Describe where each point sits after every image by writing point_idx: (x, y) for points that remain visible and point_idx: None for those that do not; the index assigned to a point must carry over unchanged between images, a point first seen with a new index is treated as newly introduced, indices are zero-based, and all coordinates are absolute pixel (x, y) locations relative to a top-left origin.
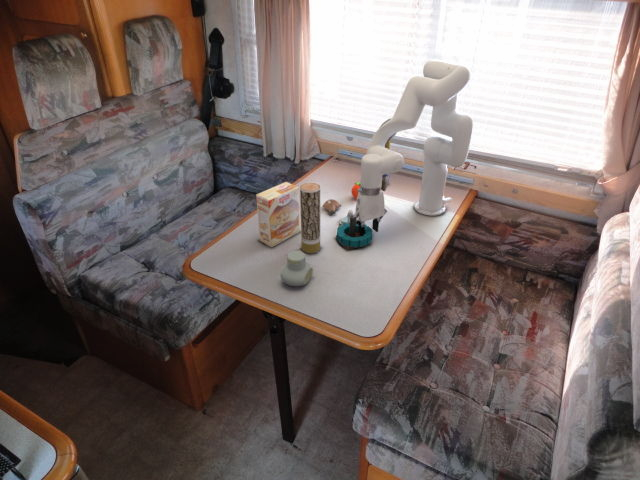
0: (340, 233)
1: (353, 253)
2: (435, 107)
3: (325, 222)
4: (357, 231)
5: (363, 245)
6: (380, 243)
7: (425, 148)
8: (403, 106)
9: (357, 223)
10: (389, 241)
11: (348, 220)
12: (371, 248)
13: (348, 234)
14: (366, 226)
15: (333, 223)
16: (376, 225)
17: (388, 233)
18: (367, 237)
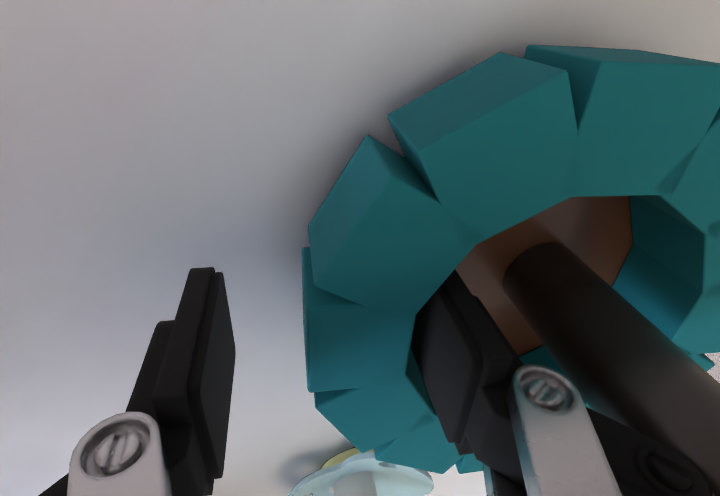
0: (708, 344)
1: (699, 20)
2: None
3: (481, 487)
4: (411, 352)
5: (586, 49)
6: (240, 61)
7: None
8: None
9: (672, 452)
10: (62, 41)
11: (373, 491)
12: (437, 3)
13: (515, 336)
14: (341, 385)
15: (447, 474)
16: (206, 358)
17: (12, 239)
18: (554, 112)
